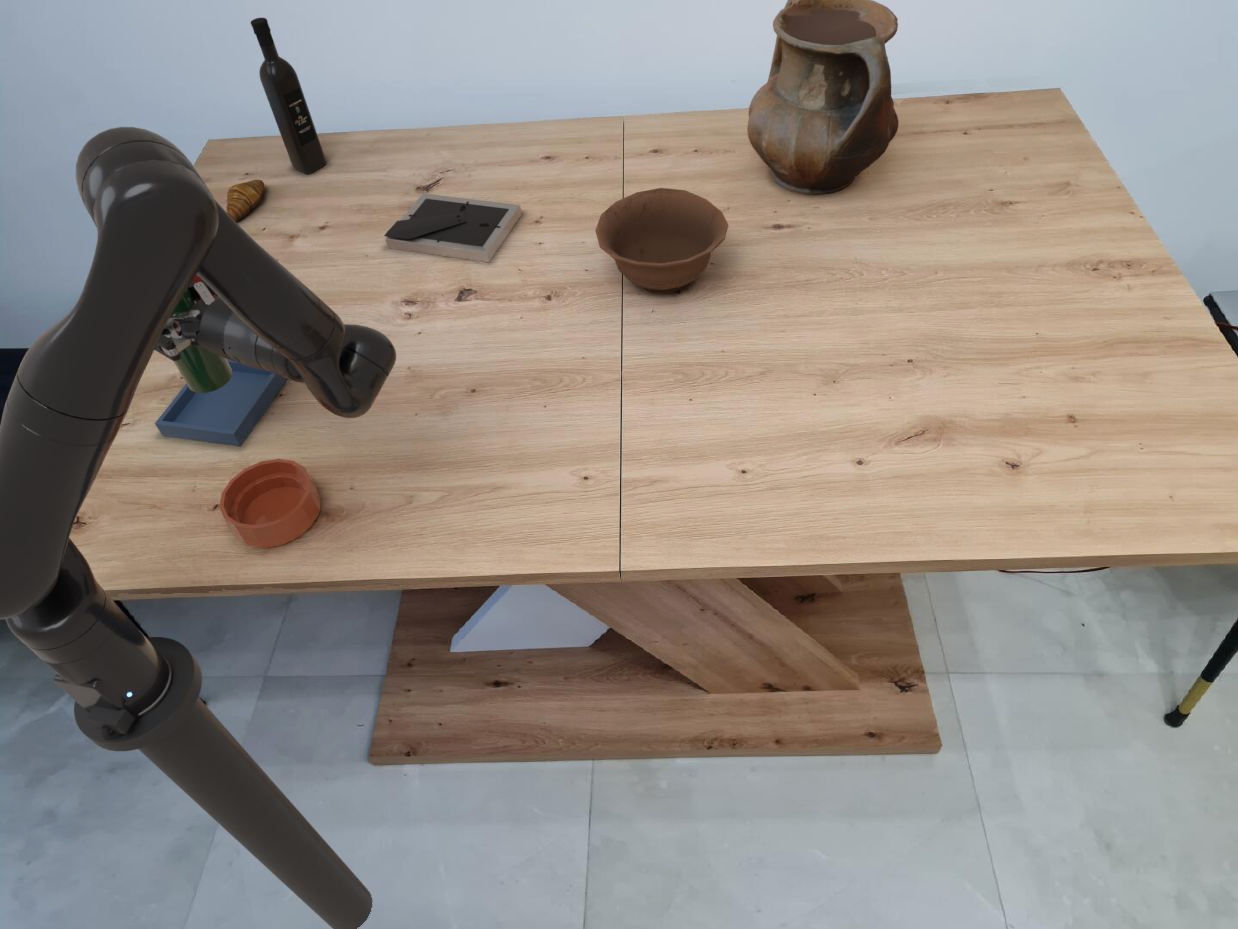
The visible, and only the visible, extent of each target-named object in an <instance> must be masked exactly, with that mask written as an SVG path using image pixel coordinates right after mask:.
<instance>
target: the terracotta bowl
mask: <svg viewBox="0 0 1238 929" xmlns="http://www.w3.org/2000/svg"><path fill="white" fill-rule="evenodd" d="M321 502H322V498H321V495H320V493H319V491H318V490H317V488H316V486H315V483H314V482H313V480H312V478H311V475H310V474H309V472H308V470H307V468H306V467H305V466H303V465H302V464H300V463H299V462H297V461H295V460H291V459H283V458H273V459H268V460H262V461H259V462H257V463H254V464H252V465H249V466H248V467H246V468H244V469H242V470H241V471H240V472H238V473H237V474H236V475H234V477H232V478H231V479H230V480H229V481H228V483H227V485H225V487H224V488H223V490H222V491H221V495H220V501H219V506H218V507H219V510H220V512H221V515H222V518H223V519H224V521H225V522H226V524H227V525H228V527H229V529H230V531H231V532H232V534H233V536H234V537H235V538H236V539H238V541H240V542H242V543H243V544H244V545H246V546H248V547H253V548H254V547H255V548H258V549H259V548H260V549H266V548H268V549H269V548H273V547H278V546H283V545H285V544H287V543H289V542H291V541H293V540H295V539H297V538H299V537H300V536H301V535H303V534H304V533H305V532H306V531H308V530H309V528H311V527H312V526H313V525H314V522H315V521H316V519H317V517H318V516H319V514H320V512H321Z"/></svg>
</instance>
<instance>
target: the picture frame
mask: <svg viewBox="0 0 1238 929" xmlns="http://www.w3.org/2000/svg"><path fill="white" fill-rule="evenodd" d="M520 217H522V208H521V205H520V204H513V203H505V202H497V201H491V200H482V199H473V198H465V197H459V196H457V197H456V196H448V195H441V194H432V193H425V192H424V193H422V194H421V195H420V196H419V197H418V199H417V200H416V201H415V202H414V203H413V204H412V206H411V207H410V208H409V209H408V211H407V212H406V213H405V214H404V215H403V216H402V217H401V219H400V220H397V221H395V223H394V224H393V225H391V227H390V228H389V229H388V230H387V231H386V233H384V235H383V236H384V237H385V243H386V245H387V249H391V250H392V249H393V250H399V251H406V252H413V253H419V254H420V253H421V254H428V255H433V256H440V257H441V256H442V257H447V258H448V257H449V258H455V259H463V260H469V261H475V262H476V261H477V262H484V263H490V262H491V260H492V259H493V257H494V256H495V255H496V253H497V251H498V250H499V248H500V247H501V245H502V244H503V242H504V241H505V240H506V239H507V237H508V235H509V234H510V233H511V231H512V229H513V228H514V226H515V225H516V224H517V222H518V221H519V219H520Z"/></svg>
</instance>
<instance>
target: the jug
mask: <svg viewBox="0 0 1238 929" xmlns="http://www.w3.org/2000/svg"><path fill="white" fill-rule="evenodd" d="M776 14H777V15H776V16H775V17H774V19H773V22H772V28H773V32H774V33H775V35H776V38H775V44H774V50H773V54H772V60H771V64H770V70H769V74H768V78H767V81H766V82H765V84H763V85H762V86H761V87H760V88H759V89H758V90H757V91H756V92H755V94H754V95H753V96H752V98H751V101H750V104H749V106H748V121H747V126H746V127H747V128H746V130H747V137H748V141H749V143H750V145H751V147H752V148H753V149H754V151H755V152H756V153H757V156H759V158H760V159H761V160H762V161H763V163H764V164H765V165H766V166H767V167H768V168H769V169H770V171H772V178H773V181H774V182H775V183H776V184H777V185H778V186H779V187H781V188H783V189H785V190H787V191H789V192H793V193H796V194H799V195H805V196H822V195H830V194H834V193H838V192H841V191H843V190H845V189H846V188H848V187H850V185H851V184H853V182H854V181H855V178H856V177H857V176H859V175H860V174H861V173H862V172H864V171H865V170H867V168H869V167H871V165H873V164H874V163H875V162H877V161H878V160H879V159H880V158H881V157H882V156H883V155H884V154H885V153H886V151H887V149H888V147H889V145H890V143H891V142H892V140H894V138H895V136H896V135H897V133H898V129H899V123H900V122H899V117H898V114H897V112H896V109H895V108H894V106H895V104H894V100H893V96H892V72H891V71H892V70H891V67H890V62H889V58H888V55H887V50H886V44H887V43H888V42H889V41H890V40H891V39H893V38H894V37H895V35H896V34H897V32H898V28H899V23H898V20H899V19H898V18H897V15H896V14H895V13H894V12H893V11H892V10H891V9H890V8H888V7H887V5H886V6H885V5H884V4H881V3H880V2H878V1H875V0H787V1H786V3H785V5H784V8H782V9H780V10H779V12H778V13H776Z"/></svg>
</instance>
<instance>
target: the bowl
mask: <svg viewBox="0 0 1238 929" xmlns="http://www.w3.org/2000/svg"><path fill="white" fill-rule="evenodd" d="M728 229H729V223H728V221H727V219H726V216H725V215H724V213H723V211H722V210H720V209H719V208H718V207H717V206H715V205H714V204H713V203H712V202H711V201H709V200H708V199H707V198H704V197H702V196H699V195H697V194H695V193H692V192H691V191H688V190H686V189H675V188H666V187H657V188H653V189H647V190H641V191H636V192H634V193H632V194H630V195H627V196H625V197H623V198H621V199H619V200H617V201H615V202H614V203H612V204H611V205H610V206H609V207H608V208H606V210H604V211H603V212H602V213H601V214H600V216H599V219H598V222H597V225H596V227H595V229H594V230H595V234H596V239H597V242H598V246H599V248H600V249H601V250H602V251H603V252H605V253H606V254H607V255H608V256H609V257H611V258H612V259H613V260H614V262H615V265H616V267H617V269H618V271H619V272H620V273H621V274H622V276H624V277H625V278H626V279H627V280H628V281H629V282H630V283H632V284H634V285H637V286H639V287H642V288H643V289H644V290H645V291H648V292H650V293H653V294H661V295H666V294H671V293H672V294H673V293H675V292H677V291H679V290H681V289H683V288H685V286H686V285H688V284H690V283H691V282H694V281H695V280H696V279H698V277H699V276H700V275H701V274H702V273H703V272H704V271H705V270H706V269H707V267H708V265H709V262H710V259H711V256H712V253H713V252H714V251H715V250H716V249H717V248H718V247H719V246H720V245H721V244H722V243H723V242H724V241H725V240H726V237H727V233H728Z"/></svg>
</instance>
